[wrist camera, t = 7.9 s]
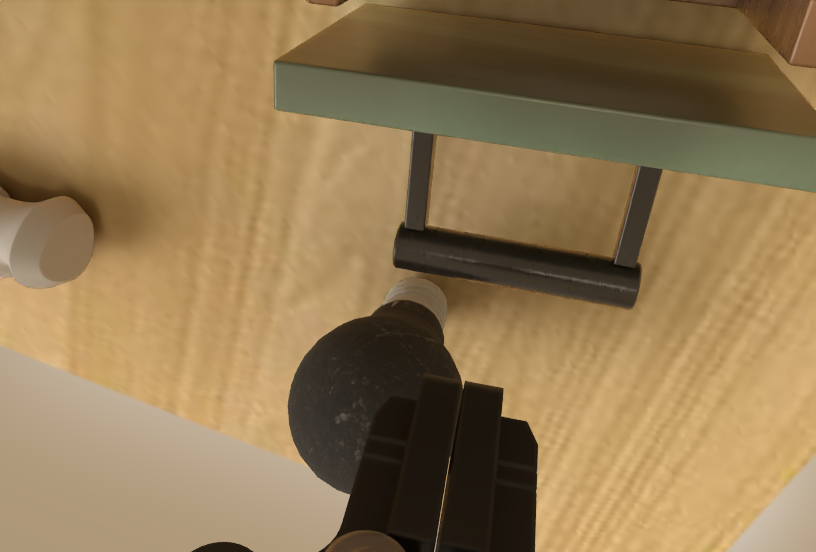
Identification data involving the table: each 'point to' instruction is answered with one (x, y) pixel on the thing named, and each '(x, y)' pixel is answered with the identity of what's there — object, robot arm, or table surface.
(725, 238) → the table surface
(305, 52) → the drawer
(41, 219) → the pale two-lobed sculpture
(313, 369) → the light bulb
